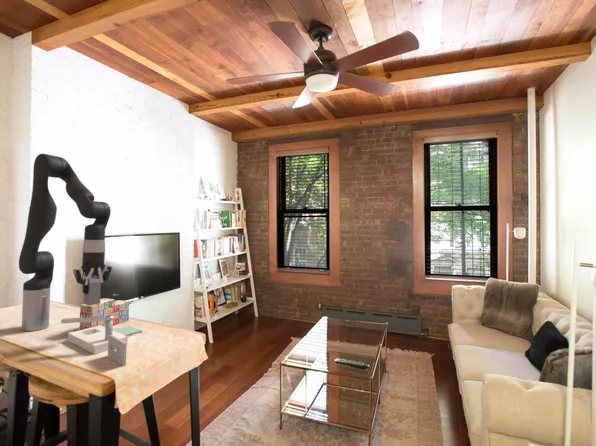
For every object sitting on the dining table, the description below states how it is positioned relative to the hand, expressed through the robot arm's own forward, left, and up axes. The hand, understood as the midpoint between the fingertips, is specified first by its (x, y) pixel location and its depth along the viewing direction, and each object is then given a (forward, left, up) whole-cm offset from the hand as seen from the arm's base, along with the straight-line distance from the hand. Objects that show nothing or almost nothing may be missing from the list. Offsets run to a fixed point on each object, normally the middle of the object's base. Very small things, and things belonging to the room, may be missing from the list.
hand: (92, 292), depth 129 cm
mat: (+3, +12, -19) cm, 23 cm away
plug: (0, 0, -4) cm, 4 cm away
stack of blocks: (-11, +12, -19) cm, 25 cm away
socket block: (+6, 0, -19) cm, 20 cm away
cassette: (+27, -4, -19) cm, 33 cm away
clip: (+10, -6, -8) cm, 14 cm away
